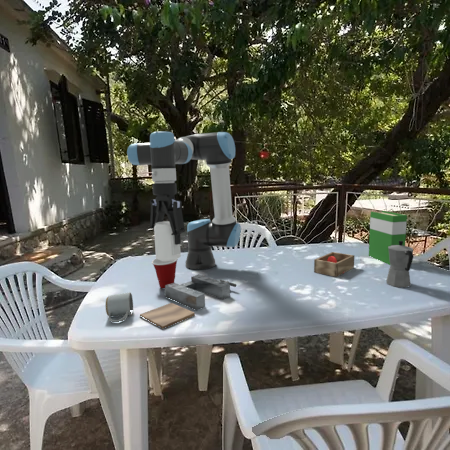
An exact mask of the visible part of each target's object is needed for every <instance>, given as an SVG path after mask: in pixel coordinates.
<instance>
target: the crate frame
mask: <svg viewBox="0 0 450 450" xmlns="http://www.w3.org/2000/svg"><path fill="white" fill-rule="evenodd" d="M330 256H334V257H335V258H336V260H337V263H333V262H328V261H327V260H328V257H330ZM313 261H314V262H313V265H314V266H313V272H314V273H317V274H321V275H326V276H331V277H335V278H338V277H339V276H342V275H344V274H345V273H346V272H348V271H350V270H353V269H354V268H355V255H354V254H350V253H349V254H348V253H342V252H335V251H331V252H328V253H325V255H321V256H319V257H317V258H315V259H314V260H313ZM343 272H344V274H343Z"/></svg>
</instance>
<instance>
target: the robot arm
mask: <svg viewBox="0 0 450 450" xmlns="http://www.w3.org/2000/svg"><path fill="white" fill-rule="evenodd" d="M126 154H127V159H128V162H129V163H130V164H131V165H134V166H149V165H151V180H152V182H154V183H152V194H153V196H156V197H155V199H150V201H149V204H150V219H149V220H150V223H149V228H150V229H151V230H153V231H154V226H155V225H156V224H155V223H157V222H163V221H164V219H165V215H166V216H167V219H168V221H169V222H170V225H171V229H172V232H173V233H172V234H171V240H172V255H176V254H180V251H181V242H182V241H181V234H182V233H185V232H186V233H187V249H188V250H187V255H186V260H185V261H184V262H185V267H186V268H187V269H189V268H190V269H189V270H197V269H199V270H206V269H211V268H214V267H215V266H216V259H215V257H214V254H213V251H212V247H221V248H235V247H236V246H237V245H238V244H239V241H240V239H241V233H242V227H241V224H240V223H238V222H237V219H236V217H235V216H233V207H232V206H233V204H232V203H233V202H232V191H231V177H230V165H231V164H232V161H233V159H234V158H236V145H235V140H234V137H233V136H232V134H230V133H229V132H226V131H218V132H205V133H204V132H203V133H195V134H191V135H186V136H181V137H178V138H177V139H175V135H174V133H173V132H171V131H154V132H152V133H150V135H149V142H144V143H143V142H142V143H139V142H136V143H131V144H130V145H129V146H127V151H126ZM191 160H197V161H203V160H204V161H205V163H206V166H208V167H209V170H210V180H211V191H212V202H213V212H214V213H213V214H214V217H213V219H212V220H211V219H210V218H205V219H204V218H203V219H197V220H193V221H190V222H188V224H187V228H186V229H187V231H186V229H185V223H184V216H183V209H182V204H183V203H182V201H181V200H176V198H175V195H177V193H178V189H177V183H176V181H177V171H176V170H177V169H176V165H184V164H188V163H189V162H190V161H191Z"/></svg>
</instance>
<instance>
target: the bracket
mask: <svg viewBox="0 0 450 450" xmlns="http://www.w3.org/2000/svg"><path fill="white" fill-rule="evenodd" d="M327 261H328V262H333V263H337V260H336V258H335V257H334V256H330V257H328V260H327ZM344 274H345V273H344V272H343V274H342V275H344Z"/></svg>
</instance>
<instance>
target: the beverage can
mask: <svg viewBox="0 0 450 450" xmlns="http://www.w3.org/2000/svg"><path fill="white" fill-rule="evenodd" d="M155 224H156V225H155V226H154V230H153V234H154V248H155V249H154V250H155V259H158V260H160V261H173V260H176V259H180V258H181V256H182V255H181V250H180V254H176V255H172V240H171V234H172V233H173V232H172V229H171V225H170V222H169V220H166V221H164V220H163V222H157V223H155Z"/></svg>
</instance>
